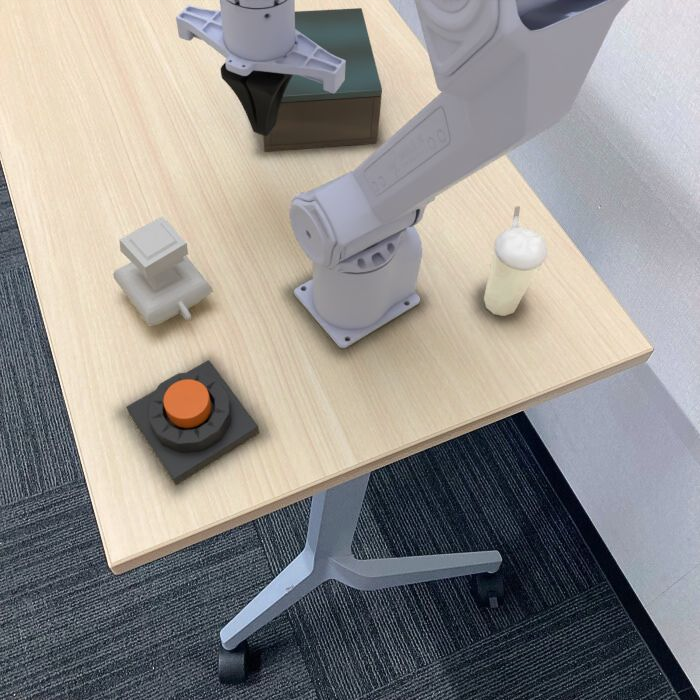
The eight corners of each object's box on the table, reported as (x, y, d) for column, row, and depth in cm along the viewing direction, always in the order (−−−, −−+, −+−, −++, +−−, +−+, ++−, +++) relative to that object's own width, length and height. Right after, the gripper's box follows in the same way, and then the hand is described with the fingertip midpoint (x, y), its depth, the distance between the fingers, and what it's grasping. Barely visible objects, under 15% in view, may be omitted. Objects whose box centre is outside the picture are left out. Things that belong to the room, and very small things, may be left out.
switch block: (210, 366, 64) (206, 348, 61) (259, 432, 60) (257, 416, 58) (128, 413, 61) (120, 396, 58) (175, 485, 58) (169, 470, 55)
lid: (249, 20, 79) (249, 13, 79) (361, 14, 81) (361, 7, 80) (260, 104, 73) (260, 97, 72) (381, 96, 74) (382, 90, 74)
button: (197, 381, 60) (194, 371, 58) (220, 413, 58) (217, 403, 57) (158, 404, 58) (155, 393, 57) (181, 436, 57) (177, 427, 56)
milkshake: (515, 275, 71) (543, 204, 62) (529, 320, 68) (559, 252, 59) (470, 278, 70) (492, 207, 62) (482, 323, 67) (506, 255, 59)
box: (254, 78, 85) (250, 29, 80) (359, 71, 86) (362, 23, 81) (264, 151, 78) (260, 104, 73) (377, 143, 80) (381, 96, 74)
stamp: (112, 286, 68) (89, 225, 61) (174, 254, 70) (158, 192, 63) (161, 350, 64) (142, 294, 57) (224, 315, 67) (213, 257, 59)
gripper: (144, -16, 53) (172, 127, 65) (319, 46, 50) (316, 183, 62) (194, -62, 56) (213, 82, 68) (360, -6, 54) (350, 133, 66)
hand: (264, 127), depth 65 cm, fingers closed
